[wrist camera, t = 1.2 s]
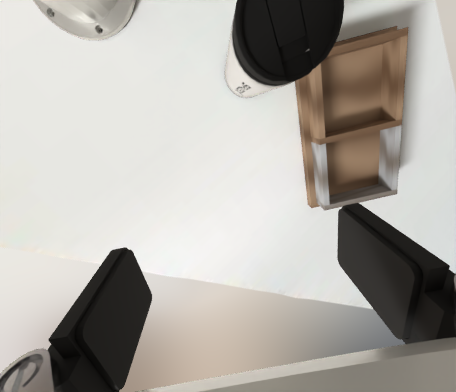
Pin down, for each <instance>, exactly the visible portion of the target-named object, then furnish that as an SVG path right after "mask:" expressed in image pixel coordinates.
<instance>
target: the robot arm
mask: <svg viewBox="0 0 456 392" xmlns="http://www.w3.org/2000/svg"><path fill="white" fill-rule="evenodd" d="M33 1H34V2H35V4H36V5H37V7H38V8H39V9H40V11H41V12H42V13H43V14H44V15H45V16H46V17H47V18H48V19H49V20H50V21H51V22H52V23H54V24H55V25H56V26H57V27H59V28H60V29H62V30H64V31H65V32H67V33H69V34H71V35H73V36H76V37H78V38H81V39H86V40H103V39H107V38H109V37H111V36H113V35H115V34H117V33H118V32H119V31H120V30H121V29H123V27H124V26H125V25H126V23H127V22H128V21H129V19H130V16H131V14H132V12H133V9H134V5H135V1H136V0H33ZM54 14H55V15H54ZM102 29H103V31H102V33H101V30H102ZM338 262H339V264H340V266H341V267H342V269H343V270H344V271H345V273H346V274H347V275H348V276H349V278H350V279H351V280H352V282H353V283H354V284H355V285H356V287H357V288H358V289H359V291H360V292H361V293H362V294H363V296H364V297H365V298H366V300H367V301H368V302H369V303H370V305H371V306H372V307H373V309H374V310H375V311H376V312H377V314H378V315H379V316H380V318H381V319H382V320H383V321H384V323H385V324H386V325H387V327H388V328H389V329H390V330H391V332H392V333H393V334H394V335H395V337H397V338H398V339H402V340H403V341H404V342H405V344H404V345H398V346H391V347H385V348H379V349H374V350H368V351H362V352H356V353H350V354H344V355H339V356H332V357H327V358H321V359H315V360H309V361H303V362H298V363H292V364H286V365H281V366H276V367H270V368H264V369H258V370H252V371H247V372H241V373H236V374H230V375H224V376H219V377H213V378H208V379H202V380H197V381H191V382H186V383H180V384H175V385H169V386H164V387H159V388H153V389H148V390H143V391H137V392H456V274H454V273H453V272H452V271H450V270H449V267H450V266H449V265H448V264H446V263H445V262H444V261H442V260H441V259H439V258H438V257H436V256H435V255H433V254H432V253H430V252H429V251H428V250H426V249H425V248H423V247H422V246H420V245H419V244H417V243H416V242H414V241H413V240H412V239H410V238H409V237H407V236H406V235H404V234H403V233H401V232H400V231H398V230H397V229H396V228H394V227H393V226H391V225H390V224H388V223H387V222H385V221H384V220H382V219H381V218H380V217H378V216H377V215H375V214H374V213H372V212H371V211H369V210H368V209H366V208H365V207H363V206H362V205H361V204H359V203H353V204H348V205H344V206H343V207H342V209H340V210H339V213H338ZM151 301H152V294H151V291H150V289H149V287H148V285H147V282H146V280H145V278H144V276H143V274H142V271H141V269H140V267H139V265H138V262H137V260H136V258H135V256H134V253H133V252H132V250H128V249H127V248H120V249H115V250H112V251H111V252H110V253H109V255H108V256H107V257H106V259H105V260H104V262H103V263H102V265H101V266H100V267H99V269H98V270H97V272H96V273H95V274H94V276H93V277H92V279H91V280H90V282H89V283H88V285H87V286H86V287H85V289H84V290H83V292H82V293H81V294H80V296H79V297H78V299H77V300H76V301H75V303H74V304H73V306H72V307H71V308H70V310H69V311H68V313H67V314H66V315H65V317H64V318H63V320H62V321H61V323H60V324H59V325H58V327H57V328H56V330H55V331H54V332H53V334H52V335H51V337H50V338H49V341H50V343H51V346H50V347H49V349H48V350H46V349H36V350H33V351H30V352H28V353H26V354H25V355H23V356H21V357H19V358H18V359H17V360H15V361H14V362H13V363H11V364H10V365H9V366H8V367H7V368H6V369H5V370H3V372H2V373H1V374H0V392H119V390H120V389H122V388H123V387H124V385H125V382H126V379H127V376H128V373H129V370H130V367H131V364H132V361H133V357H134V354H135V351H136V348H137V345H138V342H139V338H140V336H141V332H142V330H143V326H144V323H145V320H146V317H147V314H148V311H149V308H150V305H151Z"/></svg>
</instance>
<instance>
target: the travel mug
mask: <svg viewBox="0 0 456 392" xmlns="http://www.w3.org/2000/svg"><path fill="white" fill-rule="evenodd" d="M343 11H344V0H237V3H236V9H235V14H234V18H233V22H232V27H231V33H230V40H229V46H228V52H227V58H226V65H225V80H226V83H227V85H228V87H229V89H230V90H231V91H232V92H233V93H234V94H236V95H237V96H239V97H243V98H251V97H254V96H257V95H259V94H262V93H265V92H268V91H271V90H273V89H276V88H279V87H282V86H285V85H287V84H290V83H292V82H294V81H296V80H299V79H301V78H303V77H304V76H306V75H308V74H310V72H311V71H312V70H313V69H314V68H316V67H317V66H318V65H319V64H320V63H321V62H322V61H323V60H324V59H325V58H327V56H328V55H329V53H330V51H331V50H332V48H333V46H334V44H335V42H336V39H337V37H338V35H339V31H340V28H341V24H342V19H343Z"/></svg>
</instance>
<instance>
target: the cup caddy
mask: <svg viewBox="0 0 456 392" xmlns="http://www.w3.org/2000/svg"><path fill="white" fill-rule="evenodd" d="M407 39H408V27H407V28H403V29H399V30H397V26H395V27H391V28H388V29H384V30H380V31H376V32H373V33H369V34H365V35H361V36H358V37H354V38H350V39H346V40H343V41H339V42H335V44H334V46H333V48H332V50H331V51H330V53H329V55H328V56H327V58H325V59H324V60H323V61H322V62H321V63H320V64H319V65H318V66H317V67H316V68H314V69H313V70H312V71H311V72H310V74H308V75H306V76H304V77H303V78H301V79H299V80H296V81H295V85H296V95H297V104H298V114H299V123H300V133H301V142H302V152H303V161H304V171H305V180H306V190H307V199H308V205H309V206H310V207H311V208H314V207H318V206H321V207H322V208H323V209H324V210H329V209H333V208H338V207H342V206H344V205H348V204H353V203H360V202H364V201H368V200H373V199H377V198H381V197H386V196H390V195H395V194H397V187H398V172H399V158H400V143H401V128H402V113H403V98H404V84H405V69H406V54H407Z"/></svg>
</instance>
